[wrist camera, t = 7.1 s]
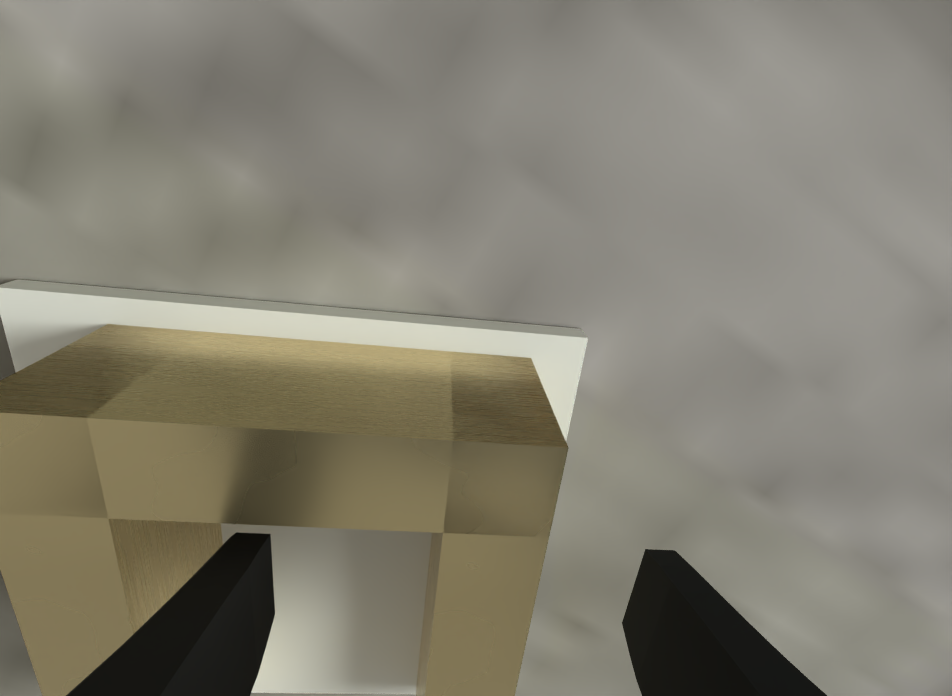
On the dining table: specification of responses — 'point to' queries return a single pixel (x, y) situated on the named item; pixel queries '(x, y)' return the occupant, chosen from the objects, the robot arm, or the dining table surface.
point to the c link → (271, 482)
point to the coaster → (309, 548)
